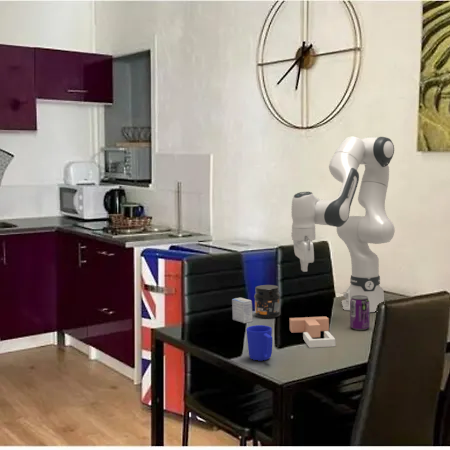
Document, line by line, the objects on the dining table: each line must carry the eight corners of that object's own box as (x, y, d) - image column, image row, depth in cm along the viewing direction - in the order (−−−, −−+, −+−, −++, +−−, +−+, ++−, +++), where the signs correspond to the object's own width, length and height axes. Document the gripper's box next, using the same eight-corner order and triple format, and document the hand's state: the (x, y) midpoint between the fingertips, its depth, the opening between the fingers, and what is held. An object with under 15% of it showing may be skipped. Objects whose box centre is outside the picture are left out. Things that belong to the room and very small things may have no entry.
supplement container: (249, 316, 268) (248, 287, 267) (268, 311, 275) (267, 283, 274) (266, 320, 260) (266, 290, 259) (286, 315, 267) (285, 286, 266)
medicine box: (252, 321, 259) (252, 300, 258) (243, 323, 256) (243, 302, 255) (241, 318, 265) (240, 297, 264) (232, 319, 263) (231, 298, 262)
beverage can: (369, 331, 240) (369, 299, 239) (350, 330, 241) (349, 298, 240) (369, 326, 247) (369, 295, 246) (350, 325, 248) (350, 294, 247)
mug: (259, 367, 202) (258, 336, 201) (242, 357, 213) (242, 327, 212) (282, 363, 205) (282, 332, 204) (265, 353, 216) (264, 324, 215)
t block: (289, 329, 245) (289, 318, 245) (326, 328, 246) (326, 316, 246) (295, 338, 233) (295, 326, 233) (334, 336, 234) (334, 324, 234)
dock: (303, 339, 232) (303, 332, 232) (328, 337, 233) (328, 331, 232) (309, 347, 221) (309, 340, 221) (335, 346, 222) (335, 339, 222)
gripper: (317, 237, 237) (318, 275, 239) (306, 231, 258) (307, 266, 259) (300, 238, 237) (301, 276, 238) (290, 232, 257) (291, 267, 259)
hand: (304, 271), depth 249 cm, fingers closed
